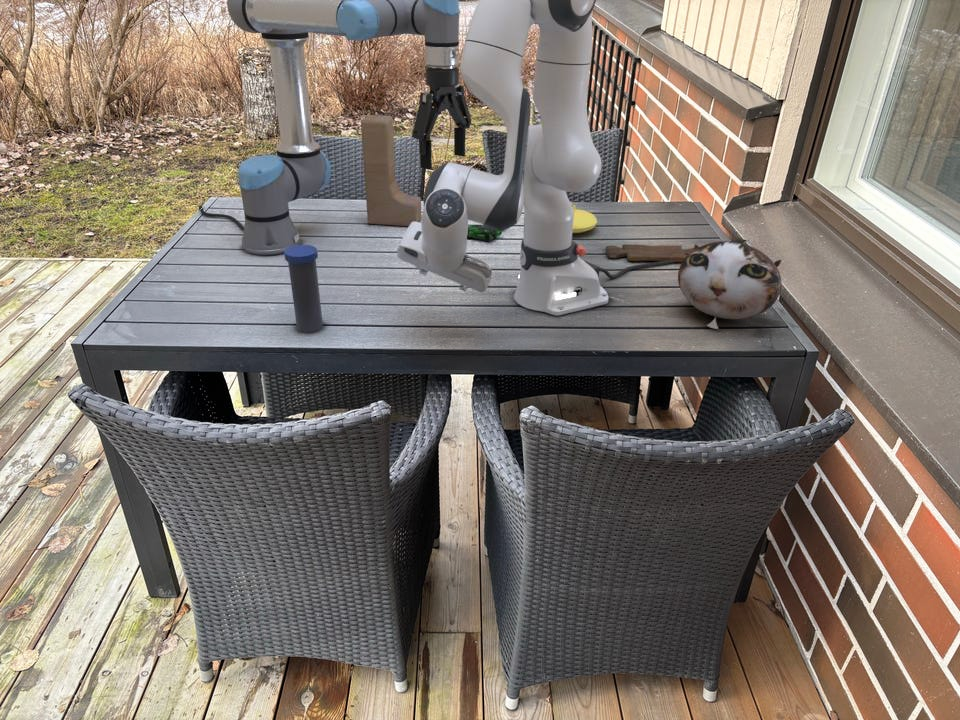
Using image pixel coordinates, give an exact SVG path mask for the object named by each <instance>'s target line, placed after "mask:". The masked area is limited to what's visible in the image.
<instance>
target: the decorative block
mask: <svg viewBox="0 0 960 720" xmlns="http://www.w3.org/2000/svg"><path fill="white" fill-rule="evenodd" d="M360 130H361V131H360V132H361V145H362V160H363V174H364V175H363V176H364V188H365V201H366V203H365V204H366V217H367V223H368V224H370V225H382V226H383V225H384V226H385V225H386V226H398V227H400V226H401V227H409V226H410V224H411V223H412V222H421V221H422V198H421V197H420V196H416V195H411V194H406V193H405V192H404V191H402V190H401V188H400V187H399V183H398V181H397V179H396V157H395V137H394V118H393V116H392V115H381V114H379V115H378V114H368V115H366V116H365V117H363V118H362V119H361V120H360Z"/></svg>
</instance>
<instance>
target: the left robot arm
mask: <svg viewBox="0 0 960 720" xmlns="http://www.w3.org/2000/svg"><path fill="white" fill-rule="evenodd" d="M226 7H227V12H228V15H229V17H230V19H231V21H232V22H233V23H234V25H236V26H237V28H239V29H240V30H242V31H244V32H246V33H250V34H260V35H261V40H262V41H264V42H265V43H266V44H267V46H268V48H269V57H270V63H271V72H272V81H273V88H274V96H275V103H276V111H277V119H278V128H279V135H280V142H279V143H278V145H277V146H276V148H275V149H276V150H275V151H276V154H262V155H254V156H253V157H250V158H247V159H245V160H244V161H242V162H241V163H240V164H239V166H238V168H237V174H238V185H239V190H240V194H241V195H240V196H241V201H242V208H243V212H244V213H243V215H244V219H245V220H244V226H243V224H242V223H241V222H240V221H239V220H237V219H236V218H235V217H234V216H231V215H229V214H224V213H210V212H206V211H205V210H204V208H202V207H203V205H201V204H200V205H199V206H198V210H199V212H200V213H201V214H202V215H203V216H206V217H211V218H225V219H229V220H231V221H233V223H235V224H236V225H237V226H238V227H239V228H240V229H241V230H242V231H243V235H242V237H241V246H242V249H243V251H244V252H246V253H248V254H252V255H255V256H256V255H257V256H275V255H281V254H282V255H283V254H284V251H285V250H286V249H287V248H289V247H291V246H295V245H301V241H300V239H301V237H300V234H299V233H298V231H297V229H296V227H295V225H294V223H293V220H292V218H291V216H290V207H289V203H291V202H293V201H296V200H299V199H302V198H305V197H309V196H312V195H315V194H317V193H318V192H321V191H322V190H324V189H325V188H326V187H328V185H329V183H330V180H331V175H332V168H331V163H330V160H329V158H327V155H326V153H325V152H324V151H323V150H321V146H320V144H319V143H318V142H316V141H315V140H314V134H313V133H314V132H313V123H312V115H311V114H312V113H311V104H310V94H309V93H310V92H309V84H308V75H307V65H306V55H305V44H306V43H307V41H308V40H309V39H310V36H309V34H310V33H311V34H319V35H320V34H321V35H328V36H329V35H330V36H339V37H345V38H346V39H347V40H350V41H359V42H360V41H361V42H362V41H363V42H364V41H368V40H373V39H378V38H385V37H392V36H400V35H418V36H424V64H425V65H426V67H425V72H424V73H425V84H426V85H427V86H428V87H429V92H420V94H419V104H418V109H417V112H416V117H415V121H414V125H413V130H412V132H411V138H412V139H415V140H417V141H418V153H419V159H420V160H419V163H420V165H419V168H420V169H425V170H432V169H433V163H432V162H433V161H432V160H433V157H432V139H430V136H431V135H432V133H433V129H434V128H435V127H434V126H435V125H436V122H437V120H438V117H439V115H441V114H442V112H444V111H446V110H447V112H448V113H449V115H450V117H451V119H452V120H453V123H454V124H455V126H456V127H453V130H454V131H453V155H454V156H456V157H463V158H464V157H466V136H467V135H466V133H467V132H466V130H467V129H470V127H471V124H472V117H471V114H470V110H469V107H468V102H467V99H466V96H465V87H464V85H462V84H460V67H458V65H459V64H460V41H459V40H460V39H459V38H460V34H459V33H460V31H459V30H460V13H461V10H460V3H459V0H226ZM201 208H202V209H201ZM200 209H201V210H200Z"/></svg>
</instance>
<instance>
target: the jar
mask: <svg viewBox="0 0 960 720" xmlns="http://www.w3.org/2000/svg"><path fill="white" fill-rule="evenodd" d="M287 264H288V271H289V279H290V288H291V295H292V302H293V308H294V309H293V311H294V316H295V325H296V330H297V331H298V332H300V333H303V334H311V333H312V334H313V333H316V332H319V331H320V330H322V329H323V328H324V323H323V313H322V304H321V296H320V295H321V294H320V287H319V277H318V269H317V259H316V260H314V261H312V262H309V263H304V264H293V263H289V262H287Z"/></svg>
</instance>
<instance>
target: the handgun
mask: <svg viewBox="0 0 960 720" xmlns="http://www.w3.org/2000/svg"><path fill="white" fill-rule="evenodd" d="M500 236H502V231H497V230H495V229H492V228H490V227H487V226H484V224H482V225H479V224H472V225H468V233H467V238H469V239H470V238H471V239H474V240H479V241H484V242H491V241H492V240H494V239H495V238H497V237H500Z"/></svg>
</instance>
